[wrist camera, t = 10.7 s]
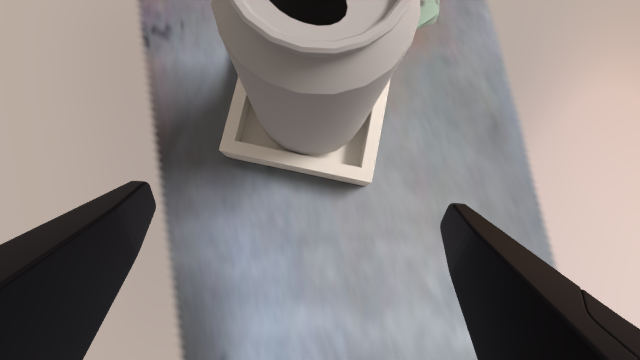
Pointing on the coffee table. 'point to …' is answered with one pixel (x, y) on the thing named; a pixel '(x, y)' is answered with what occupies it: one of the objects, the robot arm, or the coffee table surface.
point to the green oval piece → (428, 12)
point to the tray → (255, 146)
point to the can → (315, 63)
